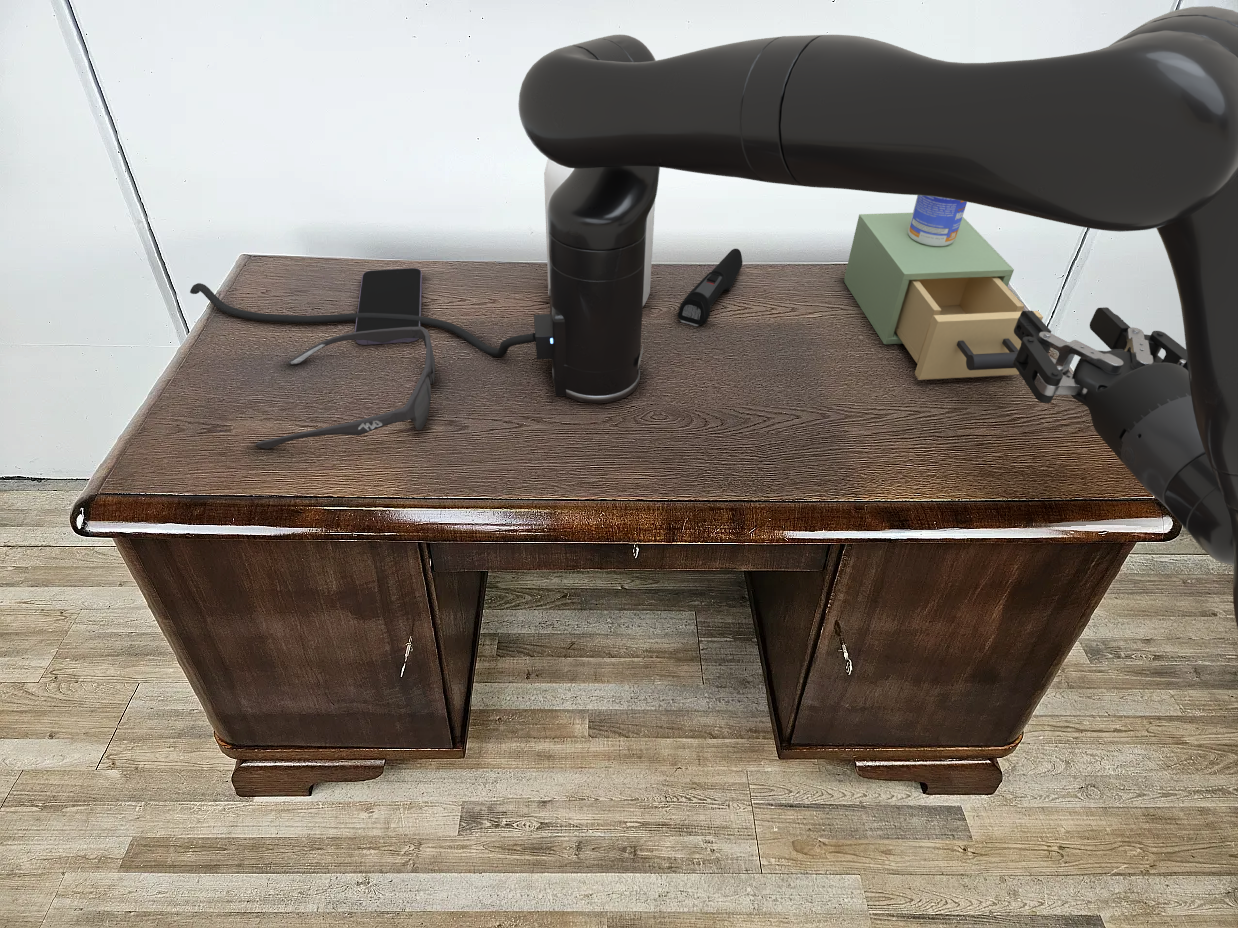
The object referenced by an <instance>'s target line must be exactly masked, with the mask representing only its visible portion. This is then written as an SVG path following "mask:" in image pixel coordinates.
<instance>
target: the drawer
mask: <svg viewBox="0 0 1238 928" xmlns="http://www.w3.org/2000/svg"><path fill="white" fill-rule="evenodd" d="M1024 309H1025V305H1024V304H1023V303H1022V302H1021V300H1020V299H1019V298H1018V297H1017V296H1016V295H1015V294H1014V293H1013V292H1012V290H1010V288H1009V287H1007V286H1006V285H1005V284H1004V283H1003V282H1002V281H1001V280H1000V279H999V278H998V277H997V276H994V277H969V278H943V279H918V280H909V283H908V286H907V290H906V293H905V296H904V300H903V303H902V307H901V310H900V314H899V317H898V320H897V324H896V327H895V332H896V333H897V335H898V336H899V338H900V339H901V341H902V342H903V346H904V347H905V348H906V350H907V351H908V353H909V355H910V356H911V357H912V359H913V360H914V361H915V363H916V364H917V365H916V368H915V371H914V375H915V377H916V378H917V379H918V380H919V381H923V380H941V379H944V380H945V379H963V378H978V377H979V378H980V377H996V376H1000V377H1001V376H1015V375H1017V376H1018V375H1020V374H1019V372H1018V371H1017V369H1016V368H1015V366H1014V365H1013V361H1014V359H1015V357H1016V355H1017V353H1018V351H1019V348H1020V346H1021V341H1020V339H1019V338H1018V337H1017V336H1016V335H1015V334H1014V328H1015V325H1016V323H1017V321H1018V318H1019V317H1020V314H1021V312H1022V311H1024ZM1032 311H1033V312H1034V313H1035V314H1036V315H1037V316H1038V317H1039V318H1040V320H1041V321H1042V322H1043V319H1044V315H1042V313H1041V312H1039V310H1032Z"/></svg>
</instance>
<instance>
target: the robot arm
mask: <svg viewBox="0 0 1238 928" xmlns="http://www.w3.org/2000/svg"><path fill="white" fill-rule="evenodd" d="M517 104H518V116H519V120H520V123H521V125H522V128H523V130H524V132H525V135H526V136H527V138H528V139H529V140H530V142H531V144H532V145H533V146H534V147H535V148H536V149H537V150H538V152H540V153H541V154H542V155H544V156H545V157H546V158H547V160H548V159H550V160H551V161H553V162H555V163H557V164H559V165H561V166H564V167H568V168H574V170H573V171H572V173H571V174H570V175H569V177H568V178H567V179H566V180H565V181H564V182H563V183H562V184H561V185H560V186H559V187H558V188H557V189H556V190H555V191H554V193H553V194H552V196H551V198H550V200H549V203H548V237H549V265H550V289H549V295H548V298H549V313H542V314H541V313H540V314H533V322H534V323H533V324H534V325H533V327H534V332H531V333H525V334H519V335H514V336H511V337H508V338H506V339H504V340H502V341H501V342H500V344H499V347H493V346H490V345H489V344H486V343H485V342H484V341H482V340H480V339H479V338H477V337H476V336H475V335H473V334H472V333H471V332H469V331H467V330H466V329H464V328H462V327H460V326H459V325H457V324H454V323H452V322H448V321H445V320H441V319H438V318H433V317H429V316H423V315H421V316H414V315H403V314H383V313H357V312H350V313H335V314H333V313H332V314H319V315H318V314H316V315H301V314H297V315H296V314H279V313H278V314H276V313H275V314H274V313H265V312H264V313H263V312H257V311H250V310H246V309H241V308H238V307H234V306H231V305H229V304H227V303H225V302H224V301H222V300H221V299H220V298H219V297H218V295H216V294H215V293H214V291H212V290H211V289H210V288H209V287H208V286H207V285H206V284H204V283H201V282H198V283H195V284H193V285H192V287H191V288H190V290H189V293H190V294H191V295H197V294H199V293H201V294H203V296H204V297H205V298H206V299H207V300H208V301H209V302H210V303H211V304H212V305H213V306H214V307H215V308H217V309H218V310H219V311H221V312H222V313H225V314H227V315H229V316H233V317H235V318H239V319H245V320H249V321H255V322H256V321H257V322H263V323H264V322H265V323H280V324H281V323H282V324H301V325H303V324H305V325H308V324H311V325H314V324H317V325H318V324H333V323H334V324H335V323H348V322H356V319H357V318H359V317H371V318H394V319H408V320H417V321H420V324H421V326H429V327H433V328H436V329H442V330H444V331H447V332H450V333H452V334H454V335H456V336H458V337H460V338H461V339H463V340H464V341H466V342H467V343H469V344H471V345H472V346H473V347H475V348H476V349H478V350H480V351H482V352H484V353H485V354H487V355H489V356H492V357H494V358H495V357H496V358H502V357H504V356H505V355H507V354H508V353H507V352H508V350H509V349H510V348H512V347H514V346H519V345H524V344H525V345H526V344H530V343H534V344H535V353H536V354H535V356H536V360H538V361H542V360H551V368H552V369H551V373H552V374H551V375H552V382H553V389H554V396H556V397H568V398H569V399H571V400H574V401H578V402H581V403H588V404H606V403H611V402H612V403H613V402H616V401H620V400H622V399H624V398H626V397H628V396H629V395H631V394H632V393H633V392H634V391H635V390H636V389H637V388H638V386H639V384H640V381H641V361H642V356H643V353H644V345H642V326H643V324H642V323H643V308H644V306H643V288H644V268H645V248H646V228H647V217H648V214H649V212H650V210H651V208H652V206H653V204H654V202H655V203H656V198H657V195H658V188H659V180H660V171H661V168H663V169H670V170H676V171H684V172H688V173H696V174H702V175H703V174H704V175H711V176H717V177H718V176H719V177H726V178H727V177H728V178H737V179H743V180H750V181H756V182H763V183H768V184H769V183H770V184H777V185H788V186H797V187H805V188H806V187H808V188H817V189H838V190H839V189H840V190H851V191H860V192H870V193H880V194H891V195H906V196H917V195H921V196H933V197H941V198H948V199H954V200H960V201H965V202H967V203H971V204H975V205H980V206H985V207H991V208H994V209H998V210H1004V211H1007V212H1011V213H1017V214H1021V215H1026V216H1030V217H1035V218H1038V219H1039V218H1040V219H1044V220H1048V221H1052V222H1057V223H1062V224H1066V225H1070V226H1075V227H1079V228H1086V229H1092V230H1098V231H1105V232H1106V231H1107V232H1117V233H1118V232H1119V233H1121V232H1122V233H1123V232H1139V231H1140V232H1141V231H1149V230H1153V229H1156V231H1157V233H1158V235H1159V237H1160V239H1161V242H1162V245H1163V247H1164V250H1165V252H1166V255H1167V258H1168V261H1169V263H1170V266H1171V267H1170V268H1171V271H1172V274H1173V276H1174V280H1175V286H1176V289H1177V293H1178V297H1179V304H1180V309H1181V316H1182V322H1183V331H1184V342H1185V343H1184V344H1185V346H1183V345H1181V344H1180V343H1179V342H1177V341H1176V340H1175V339H1174V338H1172V337H1171V336H1170V335H1168V334H1167V333H1166V332H1164V331H1161V330H1153V331H1152V332H1151V333H1150V334H1145V332H1144V331H1143V330H1142V329H1140V328H1137V327H1133V326H1130V325H1129V324H1127V323H1126V322H1125V320H1124V319H1122V318H1121V317H1120V315H1118V314H1116V313H1115V312H1113V311H1112V310H1111V309H1110V308H1109V307H1106V306H1103V307H1098V308H1096V309H1095V311H1094V314H1093V315H1092V318H1091V319H1090V322H1089V329H1090V330H1091V331H1092V333H1094V334H1095V335H1096V336H1097V338H1098V339H1099V340H1101V341H1102V342H1103V344H1105V345H1106V346H1107V347H1108V349H1110V350H1098V349H1095V348H1093V347H1091V346H1089V345H1087V344H1086V343H1083V342H1081V341H1079V340H1077V339H1073V340H1071V341H1067V340H1065V339H1063V338H1061V337H1060V336H1057V335H1055V334H1053V333H1052V330H1051V329H1050V328H1049V327H1048V326H1047V325H1046V323H1044V322H1043V320H1042V321H1041V320H1040V318H1039V317H1038V316H1037V315H1036V314H1035V313H1034V312H1033V311H1034V310H1023V311H1022V312H1021V314H1020V317H1019V318H1018V321H1017V323H1016V325H1015V328H1014V334H1015V335H1016V336H1017V337H1018V338H1019V339H1020V341H1021V346H1020V348H1019V351H1018V353H1017V355H1016V357H1015V359H1014V361H1013V365H1014V366H1015V368H1016V369H1017V371H1018V372H1019V374H1018V375H1020V376H1021V378H1022V379H1023V381H1024V383H1025V385H1027V387H1028V389H1029V390H1030V391H1031V393H1032V395H1033V396H1034V398H1035V399H1036V400H1037V401H1038V402H1040V403H1043V404H1050V403H1051V402H1052V401H1053V399H1054V397H1055V396H1071V398H1072V399H1074V400H1075V401H1077V402H1078V403H1081V404H1082V405H1083V406H1085V407H1086V408H1087V409H1088V411H1089V414H1090V419H1091V423H1092V426H1093V429H1094V430H1095V432H1096V434H1097V435H1098V436H1099V437H1100V438H1101V439H1102V441H1103V442H1104V443H1105V444H1106V445H1107V446H1108V448H1109V449H1110V450H1111V451H1112V453H1114V454H1115V456H1116V457H1117V458H1118V460H1119V461H1120V462H1122V464H1123V465H1124V466H1125V467H1126V469H1128V471H1129V472H1130V473H1131V474H1132V475H1133V476H1134V477H1135V479H1136V480H1137V481H1138V483H1140V484H1141V486H1142V487H1143V488H1144V489H1145V490H1146V491H1147V492H1148V493H1150V495H1152V497H1154V498H1155V499H1157V500H1158V501H1159V502H1160V503H1161V504H1162V505H1163V506H1164V507H1165V508H1166V509H1167V510H1168V511H1169V513H1171V514H1172V516H1173V517H1174V518H1175V519H1176V520H1177V521H1178V523H1179V524H1180V525H1181V526H1182V527H1183V528H1184V529H1185V531H1186V532H1187V533H1188V534H1189V535H1190V536H1191V538H1192V539H1193V540H1194V541H1195V542H1196V543H1197V545H1198V546H1199V547H1200V548H1201V549H1202V550H1203V551H1204V552H1205V553H1206V554H1207V555H1208V556H1209V557H1210V558H1212V559H1213V560H1215V561H1217V562H1219V563H1221V564H1224V565H1227V566H1233V569H1232V570H1233V571H1232V575H1233V576H1232V601H1233V602H1232V603H1233V614H1234V619H1235V624H1236V628H1237V629H1238V12H1237V11H1235V10H1233V9H1229V8H1225V7H1223V8H1222V7H1218V6H1212V5H1211V6H1209V5H1207V6H1190V7H1189V6H1188V7H1185V8H1180V9H1176V10H1171V11H1169V12H1167V13H1164V14H1161V15H1159V16H1157V17H1153V18H1152V19H1150V20H1148V21H1145V23H1143V24H1141V25H1140V26H1137V27H1136V28H1134V29H1133V30H1131V31H1129V32H1128V33H1127V34H1125V35H1123V36H1122V37H1120V38H1119V39H1117V40H1116V41H1114V42H1112V43H1111V44H1109V45H1108V46H1106V47H1103V48H1099V49H1096V50H1091V51H1087V52H1086V51H1085V52H1080V53H1074V54H1066V55H1060V56H1051V57H1043V58H1034V59H1022V60H1007V61H993V62H957V61H947V60H942V59H937V58H932V57H929V56H926V55H923V54H920V53H917V52H915V51H912V50H908V49H907V48H903V47H901V46H898V45H894V44H892V43H889V42H885V41H882V40H878V39H874V38H869V37H866V36H865V37H864V36H860V35H859V36H858V35H849V34H809V35H808V34H806V35H781V36H775V37H774V36H773V37H765V38H757V39H749V40H744V41H738V42H731V43H727V44H721V45H717V46H712V47H707V48H702V49H699V50H696V51H691V52H686V53H682V54H679V55H675V56H670V57H667V58H661V59H656V58H655V56H654V55H653V53H652V52H651V50H650V49H649V48H648V46H647V45H645V43H644V42H643V41H641V40H640V39H638V38H636V37H634V36H631V35H627V34H611V35H607V36H602V37H598V38H597V37H596V38H594V39H589V40H586V41H581V42H578V43H574V44H571V45H566V46H563V47H559V48H556V49H554V50H551V51H550V52H548V53H546V54H544V55H543V56H542V57H540V58H539V59H538V60H537V61H536V62H535V63H533V64H532V66H531V67H530V68H529V69H528V71H527V72H526V74H525V76H524V78H523V80H522V82H521V86H520V89H519V94H518V103H517ZM1051 349H1053V350H1054V351H1056V352H1058V357H1057V358H1053V357H1052V356H1050V355H1049V352H1050V350H1051ZM1161 350H1163V351H1165V355H1164V357H1163V358H1162V357H1161V356H1160V355H1159V354H1160V352H1161ZM1075 356H1077V357H1079V359H1078V361H1077V363H1076V365H1075V368H1074V369H1073V371H1072V372H1073V373H1071V371H1070V367H1071V366H1072V365H1071V364H1072V362H1073V361H1074V357H1075Z"/></svg>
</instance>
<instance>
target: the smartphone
mask: <svg viewBox="0 0 1238 928" xmlns="http://www.w3.org/2000/svg"><path fill="white" fill-rule="evenodd" d="M422 301H423V272H422V270H421V269H420V268H418V267H417V268H416V267H408V268H407V267H406V268H389V269H372V270H367V271H365V272H363V274H362V276H361V282H360V288H359V297H358V304H357V312H356V313H383V314H403V315H414V316H422ZM401 327H422V324H420V321H417V320H408V319H394V318H371V317H359V318H357V319H356V321H355V327H354V332H360V331H369V330H379V329H390V328H401ZM417 340H419V339H415V338H403V339H396V340H392V341H388V342H385V343H380V342H374V341H368V340H355V343H357V344H358V345H361V346H370V345H383V344H384V345H385V344H399V343H400V344H401V343H412V342H416V341H417Z"/></svg>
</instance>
